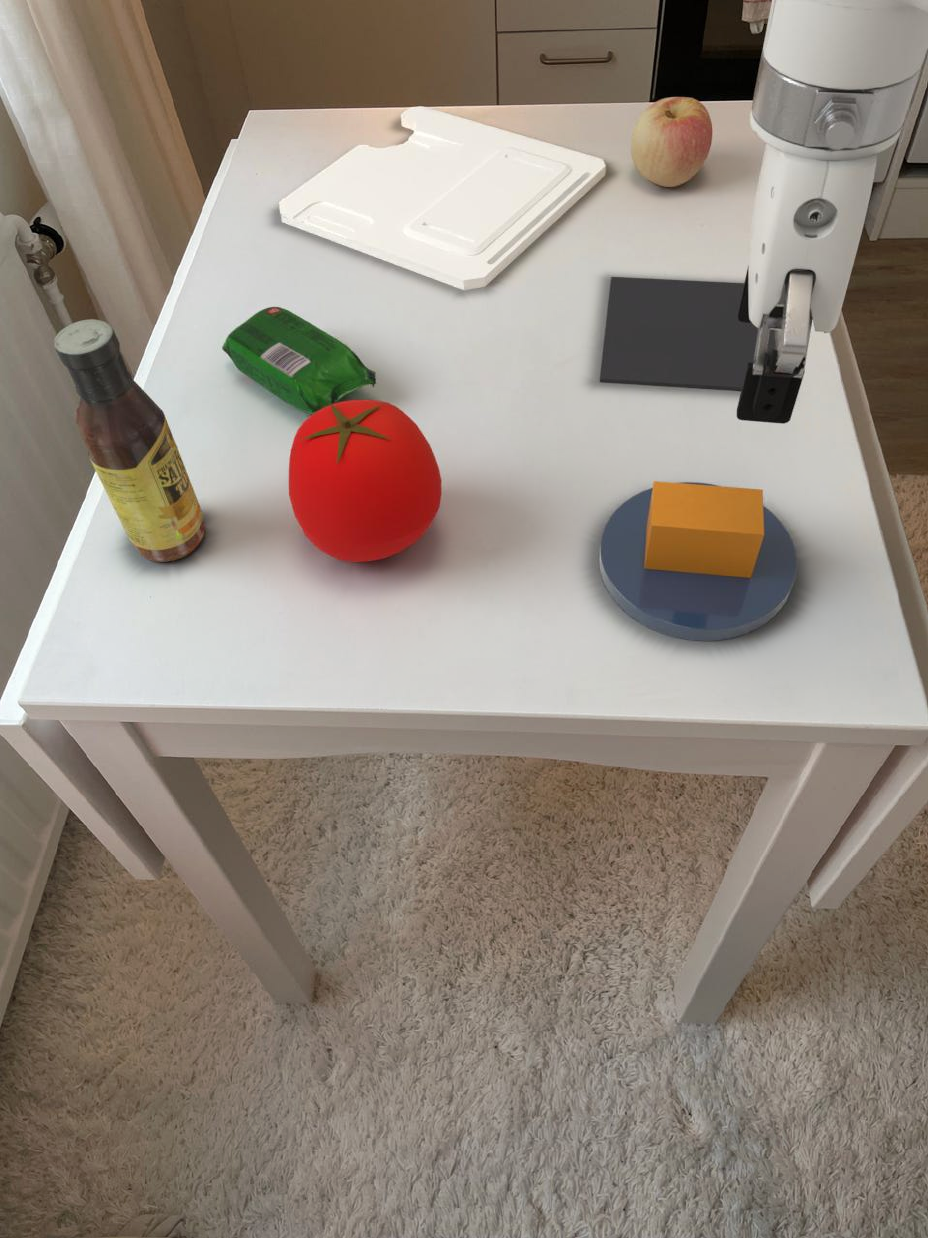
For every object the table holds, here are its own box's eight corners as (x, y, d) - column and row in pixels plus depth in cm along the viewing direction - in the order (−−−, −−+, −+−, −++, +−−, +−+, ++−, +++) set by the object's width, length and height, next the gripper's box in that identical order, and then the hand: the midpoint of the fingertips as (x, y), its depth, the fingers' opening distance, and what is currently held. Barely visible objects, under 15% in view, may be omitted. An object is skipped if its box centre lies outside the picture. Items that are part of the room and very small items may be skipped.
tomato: (271, 542, 79) (235, 427, 69) (369, 463, 84) (348, 345, 74) (379, 617, 74) (356, 505, 64) (476, 528, 79) (470, 411, 68)
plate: (788, 501, 79) (792, 489, 77) (797, 650, 70) (802, 639, 69) (605, 487, 81) (607, 475, 79) (592, 630, 72) (593, 619, 71)
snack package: (327, 441, 86) (317, 396, 82) (220, 367, 92) (206, 322, 88) (384, 401, 89) (378, 356, 84) (276, 333, 95) (266, 287, 91)
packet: (749, 533, 75) (762, 489, 71) (750, 578, 72) (764, 534, 68) (646, 525, 76) (653, 480, 72) (644, 568, 73) (651, 525, 69)
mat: (771, 287, 96) (771, 284, 95) (776, 393, 87) (777, 389, 86) (611, 279, 98) (611, 276, 98) (599, 381, 89) (599, 378, 88)
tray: (271, 218, 108) (269, 205, 107) (417, 111, 121) (416, 99, 120) (476, 294, 98) (475, 281, 96) (611, 169, 111) (612, 156, 109)
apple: (704, 158, 111) (715, 86, 104) (706, 200, 106) (718, 127, 99) (629, 157, 112) (635, 85, 106) (626, 198, 107) (633, 126, 100)
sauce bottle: (209, 559, 78) (128, 363, 62) (132, 571, 78) (31, 377, 62) (208, 502, 82) (132, 303, 66) (135, 513, 82) (40, 316, 66)
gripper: (928, 190, 42) (827, 467, 56) (894, 20, 52) (816, 291, 66) (755, 182, 43) (698, 456, 57) (754, 17, 53) (706, 284, 67)
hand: (761, 367), depth 62 cm, fingers open, 9 cm apart
